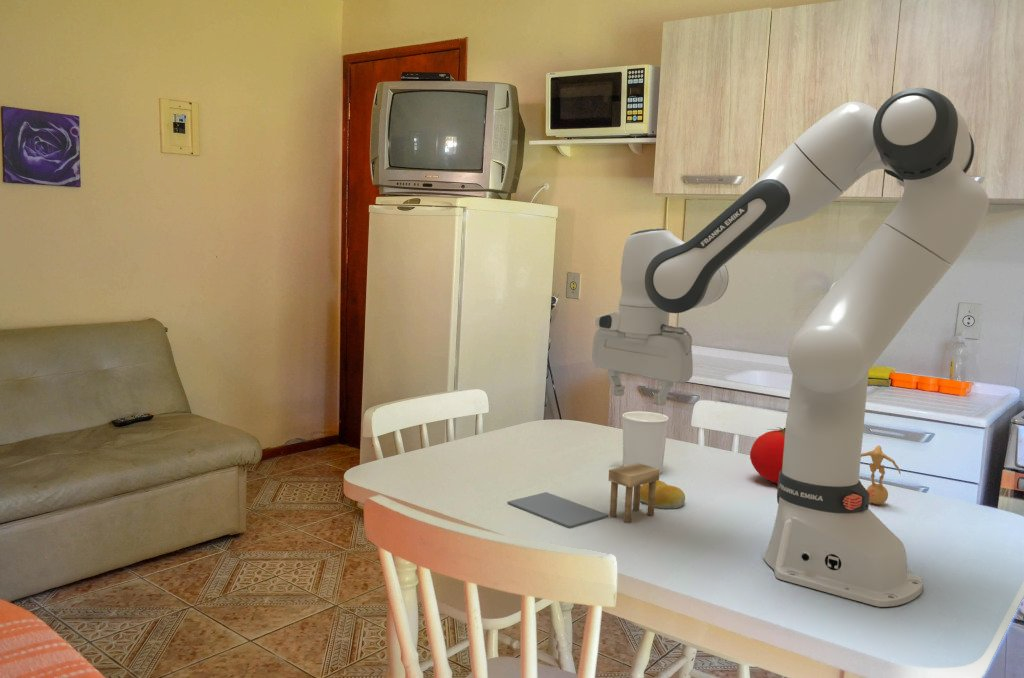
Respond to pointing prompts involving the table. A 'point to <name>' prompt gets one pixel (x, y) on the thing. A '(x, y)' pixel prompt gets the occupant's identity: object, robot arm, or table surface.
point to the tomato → (769, 454)
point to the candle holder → (644, 438)
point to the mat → (558, 509)
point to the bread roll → (663, 495)
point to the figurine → (880, 490)
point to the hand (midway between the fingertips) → (638, 399)
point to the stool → (632, 478)
